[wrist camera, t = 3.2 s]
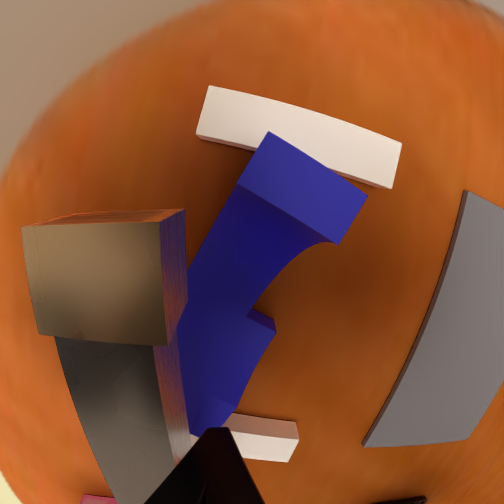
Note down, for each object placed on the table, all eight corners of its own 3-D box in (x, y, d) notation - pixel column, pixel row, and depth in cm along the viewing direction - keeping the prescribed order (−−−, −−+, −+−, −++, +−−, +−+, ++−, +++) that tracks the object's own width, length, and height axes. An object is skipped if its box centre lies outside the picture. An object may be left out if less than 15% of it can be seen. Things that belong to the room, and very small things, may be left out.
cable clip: (212, 403, 16) (203, 489, 10) (137, 365, 15) (98, 443, 9) (343, 207, 14) (408, 226, 8) (256, 152, 13) (268, 130, 7)
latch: (210, 196, 12) (142, 230, 4) (225, 498, 16) (223, 609, 8) (146, 197, 12) (-8, 234, 4) (186, 496, 16) (172, 605, 8)
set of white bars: (387, 146, 13) (401, 143, 12) (256, 499, 18) (257, 514, 16) (212, 95, 12) (209, 85, 11) (144, 478, 17) (140, 494, 16)
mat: (552, 239, 14) (555, 241, 14) (465, 436, 18) (467, 439, 17) (463, 190, 14) (468, 191, 13) (361, 443, 17) (363, 447, 16)
